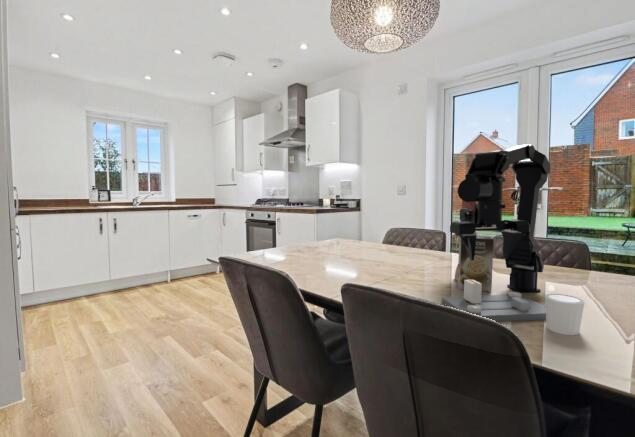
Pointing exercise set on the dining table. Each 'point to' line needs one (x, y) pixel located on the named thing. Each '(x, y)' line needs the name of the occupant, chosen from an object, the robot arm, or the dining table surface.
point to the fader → (472, 291)
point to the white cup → (563, 313)
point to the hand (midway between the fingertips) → (488, 259)
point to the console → (500, 307)
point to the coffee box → (476, 263)
